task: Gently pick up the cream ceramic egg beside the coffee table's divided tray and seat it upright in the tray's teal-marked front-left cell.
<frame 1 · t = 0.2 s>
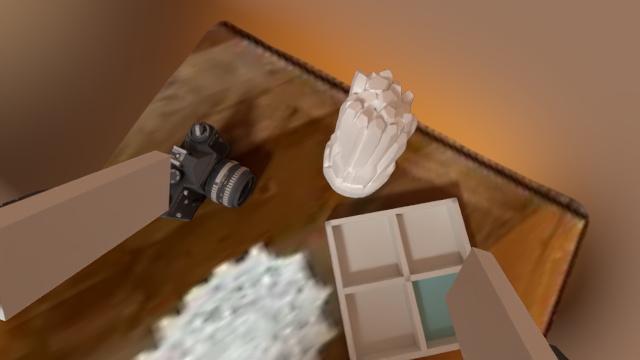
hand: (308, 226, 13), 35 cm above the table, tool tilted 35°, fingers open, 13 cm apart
divided tray: (401, 276, 46), on the table
camera: (220, 187, 49), on the table
decorative vase: (354, 166, 50), on the table
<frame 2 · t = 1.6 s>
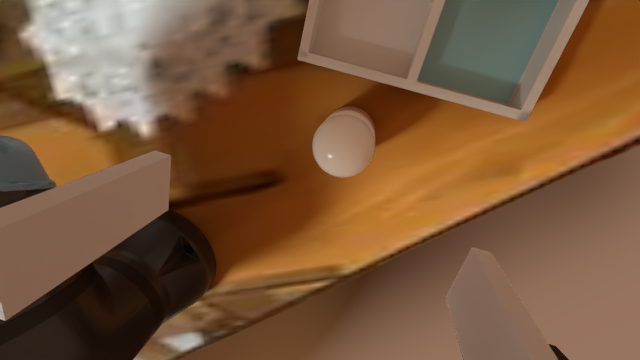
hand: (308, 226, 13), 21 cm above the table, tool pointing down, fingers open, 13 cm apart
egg: (349, 132, 32), on the table
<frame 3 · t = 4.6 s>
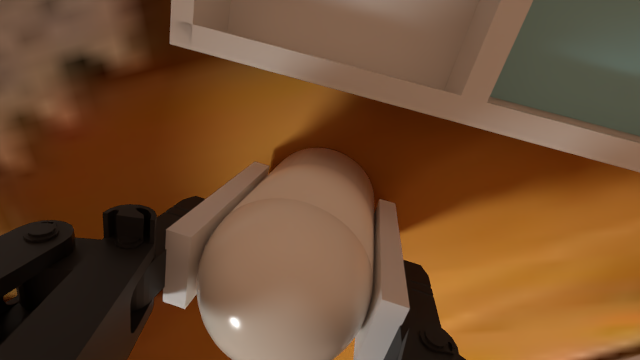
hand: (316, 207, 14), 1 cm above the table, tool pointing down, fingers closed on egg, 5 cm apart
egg: (319, 199, 15), on the table, touching gripper
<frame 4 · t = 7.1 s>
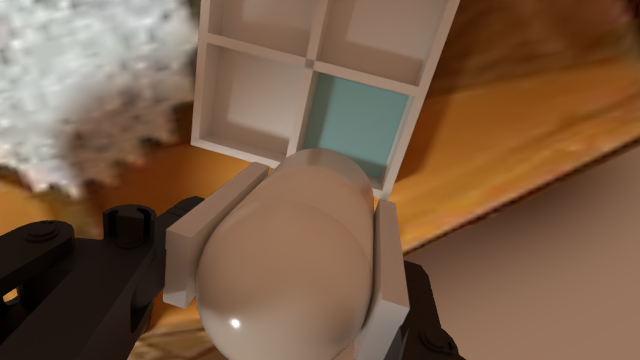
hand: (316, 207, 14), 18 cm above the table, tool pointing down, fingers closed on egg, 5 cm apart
divided tray: (316, 64, 29), on the table
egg: (319, 200, 15), point 17 cm above the table, touching gripper
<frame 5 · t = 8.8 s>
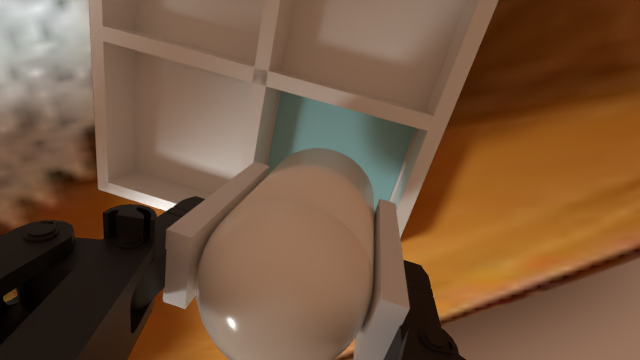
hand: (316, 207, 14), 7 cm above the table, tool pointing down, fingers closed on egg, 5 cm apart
divided tray: (279, 75, 19), on the table
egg: (319, 200, 15), point 6 cm above the table, touching gripper
when the fingers open (4 cm above the table, at t = 10.1 s): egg drops 2 cm, resting on divided tray.
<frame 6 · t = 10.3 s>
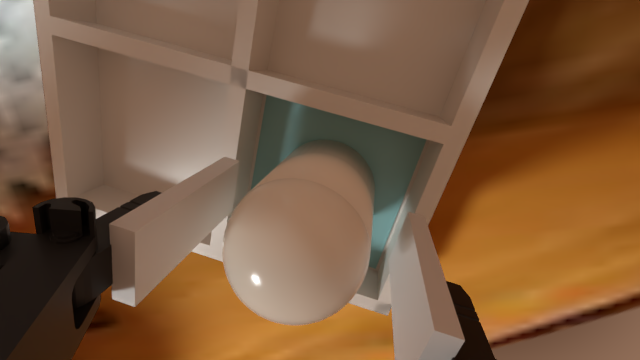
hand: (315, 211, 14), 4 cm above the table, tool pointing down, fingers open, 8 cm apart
divided tray: (265, 75, 16), on the table
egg: (325, 187, 17), point 1 cm above the table, touching divided tray
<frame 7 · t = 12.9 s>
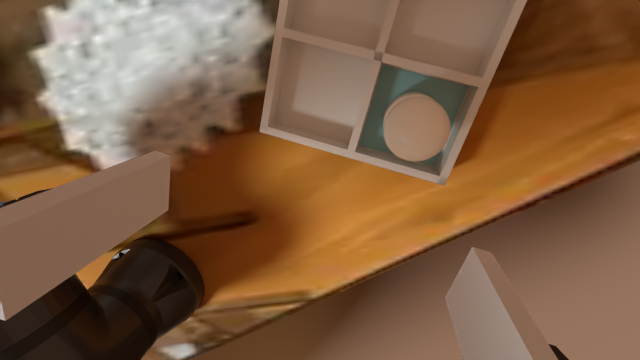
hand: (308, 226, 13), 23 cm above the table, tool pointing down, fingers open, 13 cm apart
divided tray: (379, 57, 31), on the table
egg: (410, 118, 31), point 1 cm above the table, touching divided tray
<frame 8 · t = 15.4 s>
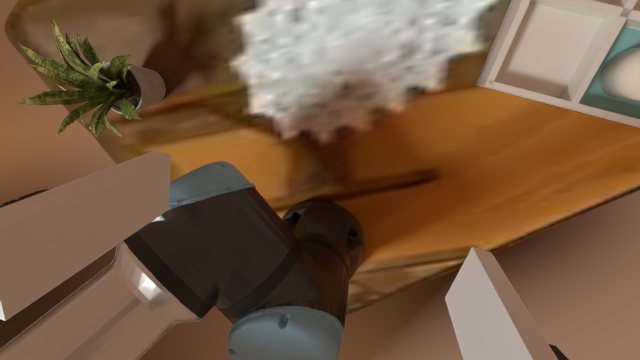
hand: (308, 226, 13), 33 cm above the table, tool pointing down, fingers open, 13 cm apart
divided tray: (602, 18, 34), on the table
house plant: (159, 86, 47), on the table
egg: (626, 73, 35), point 1 cm above the table, touching divided tray
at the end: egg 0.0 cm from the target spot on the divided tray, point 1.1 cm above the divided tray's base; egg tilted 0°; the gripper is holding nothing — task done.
